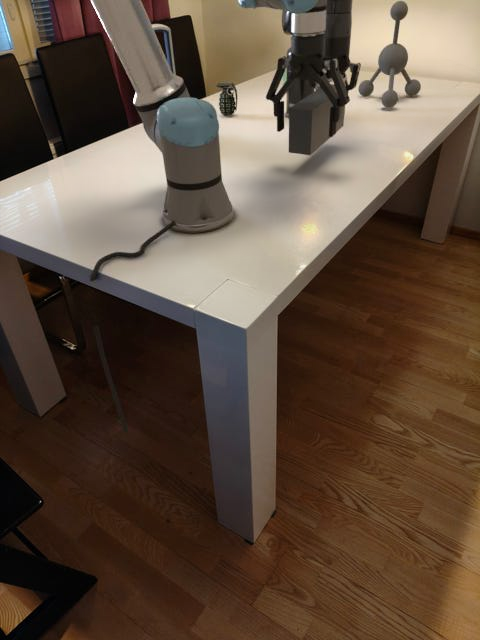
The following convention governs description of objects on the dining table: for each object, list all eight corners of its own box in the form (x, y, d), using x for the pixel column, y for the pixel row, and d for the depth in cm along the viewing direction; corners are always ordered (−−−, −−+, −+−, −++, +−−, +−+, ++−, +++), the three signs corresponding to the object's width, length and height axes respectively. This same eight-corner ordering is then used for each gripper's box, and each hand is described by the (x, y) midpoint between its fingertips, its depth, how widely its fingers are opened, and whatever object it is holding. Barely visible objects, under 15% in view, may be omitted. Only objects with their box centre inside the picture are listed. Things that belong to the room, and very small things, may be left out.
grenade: (217, 117, 168) (214, 86, 162) (221, 112, 172) (219, 82, 166) (235, 117, 166) (233, 86, 160) (239, 113, 171) (238, 82, 165)
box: (310, 155, 119) (312, 110, 112) (288, 152, 121) (289, 108, 115) (343, 126, 136) (346, 85, 129) (323, 123, 138) (326, 83, 132)
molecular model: (440, 102, 169) (459, -1, 151) (386, 111, 163) (400, 6, 145) (398, 88, 187) (412, -5, 168) (348, 96, 181) (356, 0, 162)
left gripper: (369, 31, 104) (360, 132, 117) (264, 30, 114) (266, 123, 127) (358, 37, 99) (350, 142, 112) (249, 35, 109) (253, 132, 122)
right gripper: (368, 31, 120) (361, 103, 131) (313, 30, 126) (311, 99, 137) (359, 36, 115) (352, 111, 126) (302, 35, 121) (300, 106, 131)
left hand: (305, 132), depth 120 cm, fingers open, 13 cm apart
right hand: (331, 104), depth 131 cm, fingers closed on box, 6 cm apart
